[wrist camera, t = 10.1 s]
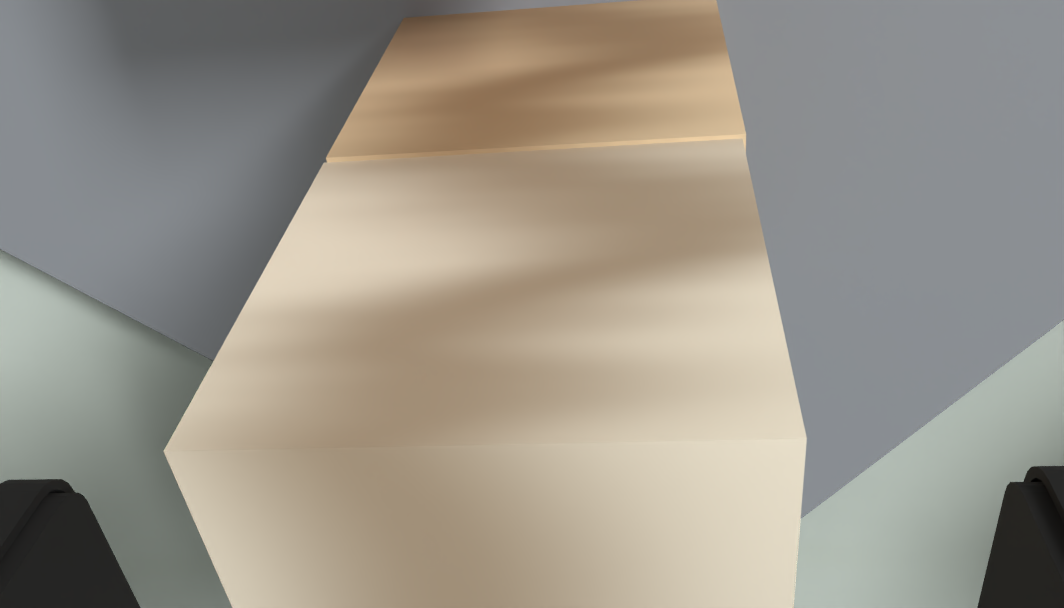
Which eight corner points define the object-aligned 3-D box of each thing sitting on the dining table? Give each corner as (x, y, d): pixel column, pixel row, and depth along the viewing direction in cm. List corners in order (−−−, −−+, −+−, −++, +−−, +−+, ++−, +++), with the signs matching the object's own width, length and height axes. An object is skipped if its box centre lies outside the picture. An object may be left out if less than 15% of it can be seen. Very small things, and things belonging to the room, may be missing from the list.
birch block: (742, 138, 11) (807, 437, 7) (735, 454, 14) (778, 796, 10) (324, 162, 12) (163, 451, 8) (398, 460, 15) (310, 784, 11)
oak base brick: (715, -6, 15) (746, 134, 11) (713, 262, 18) (737, 451, 14) (403, 18, 16) (325, 157, 12) (449, 273, 19) (399, 456, 15)
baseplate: (1343, 55, 16) (1381, 79, 15) (681, 575, 25) (683, 608, 24) (319, -914, 11) (294, -959, 10) (-57, 179, 20) (-86, 204, 19)
